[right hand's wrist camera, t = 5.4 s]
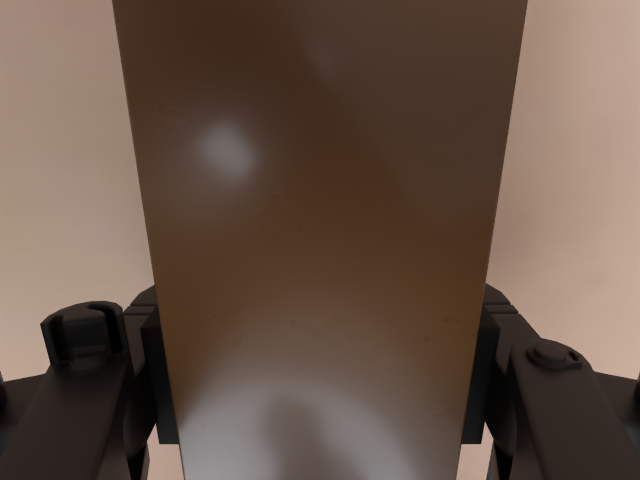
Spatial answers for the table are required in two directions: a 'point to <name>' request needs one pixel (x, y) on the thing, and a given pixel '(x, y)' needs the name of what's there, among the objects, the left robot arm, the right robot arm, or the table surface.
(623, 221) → the table surface
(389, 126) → the post
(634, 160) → the table surface
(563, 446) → the right robot arm
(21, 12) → the table surface
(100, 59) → the table surface
